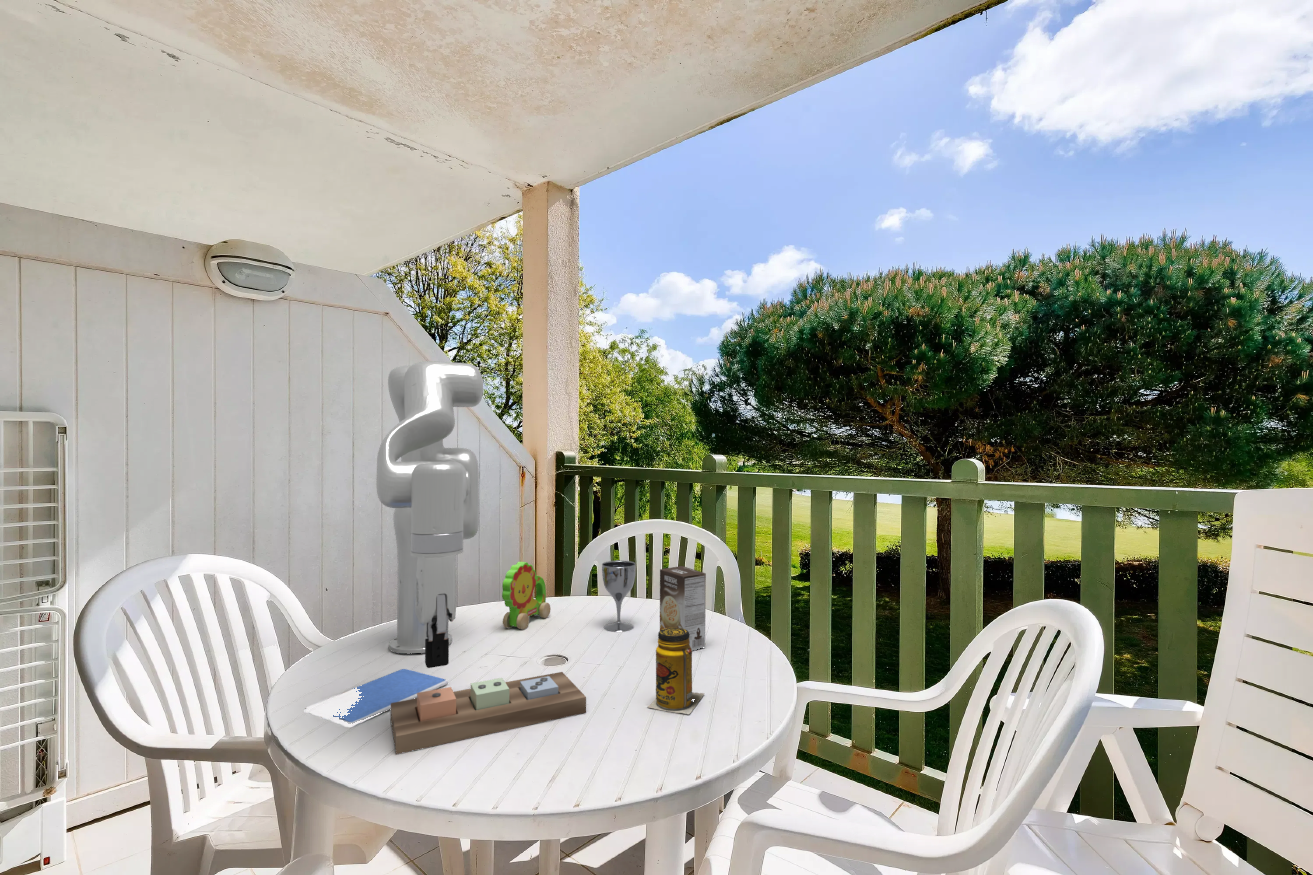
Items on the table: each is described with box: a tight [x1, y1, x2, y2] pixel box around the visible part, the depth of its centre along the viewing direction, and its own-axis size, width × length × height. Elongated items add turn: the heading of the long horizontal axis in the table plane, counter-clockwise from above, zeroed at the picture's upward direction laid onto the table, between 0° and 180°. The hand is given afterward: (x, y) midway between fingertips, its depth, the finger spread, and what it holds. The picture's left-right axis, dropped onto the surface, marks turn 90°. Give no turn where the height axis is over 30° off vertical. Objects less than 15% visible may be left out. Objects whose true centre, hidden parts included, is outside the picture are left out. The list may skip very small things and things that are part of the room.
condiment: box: [647, 627, 705, 715], centre depth 99 cm, size 7×8×12 cm
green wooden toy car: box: [501, 561, 552, 630], centre depth 143 cm, size 16×6×15 cm, turn 159°
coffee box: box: [659, 565, 707, 651], centre depth 127 cm, size 9×6×16 cm
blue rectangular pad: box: [333, 668, 449, 724], centre depth 101 cm, size 19×13×1 cm, turn 151°
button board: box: [390, 671, 587, 755], centre depth 94 cm, size 12×28×2 cm, turn 118°
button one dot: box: [417, 686, 456, 722], centre depth 90 cm, size 5×5×3 cm
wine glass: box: [601, 560, 637, 633], centre depth 140 cm, size 8×8×15 cm
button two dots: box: [470, 677, 509, 710], centre depth 94 cm, size 5×5×3 cm
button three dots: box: [520, 676, 558, 700], centre depth 97 cm, size 5×5×3 cm
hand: (436, 664), depth 90 cm, fingers closed
